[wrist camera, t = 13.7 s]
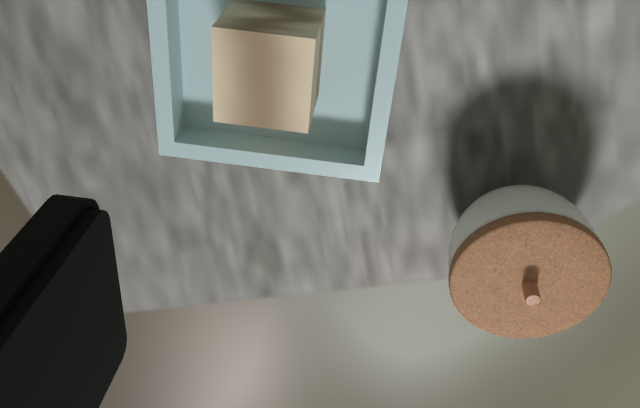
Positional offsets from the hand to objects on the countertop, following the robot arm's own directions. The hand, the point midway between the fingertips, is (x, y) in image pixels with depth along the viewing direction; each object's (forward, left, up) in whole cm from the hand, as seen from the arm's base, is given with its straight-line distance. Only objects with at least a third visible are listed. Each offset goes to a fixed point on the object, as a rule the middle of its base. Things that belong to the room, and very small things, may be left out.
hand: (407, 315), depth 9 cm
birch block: (+7, +8, -32) cm, 34 cm away
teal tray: (+7, +8, -33) cm, 35 cm away
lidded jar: (-12, +20, -34) cm, 41 cm away
